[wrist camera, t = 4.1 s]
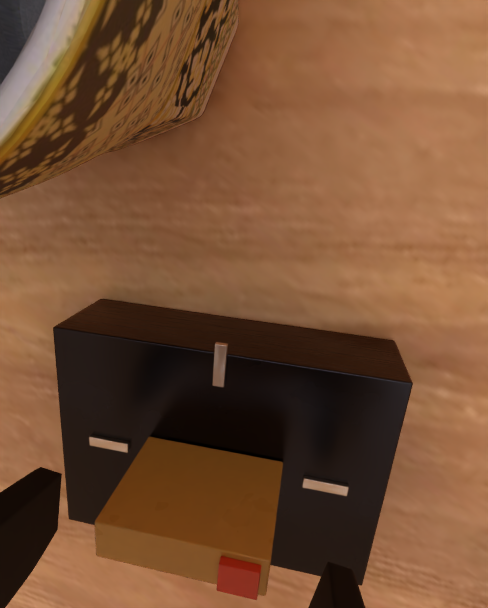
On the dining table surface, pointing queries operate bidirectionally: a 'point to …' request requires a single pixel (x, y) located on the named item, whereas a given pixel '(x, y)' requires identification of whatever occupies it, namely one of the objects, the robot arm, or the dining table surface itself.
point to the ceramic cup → (101, 77)
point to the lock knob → (195, 515)
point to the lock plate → (237, 415)
